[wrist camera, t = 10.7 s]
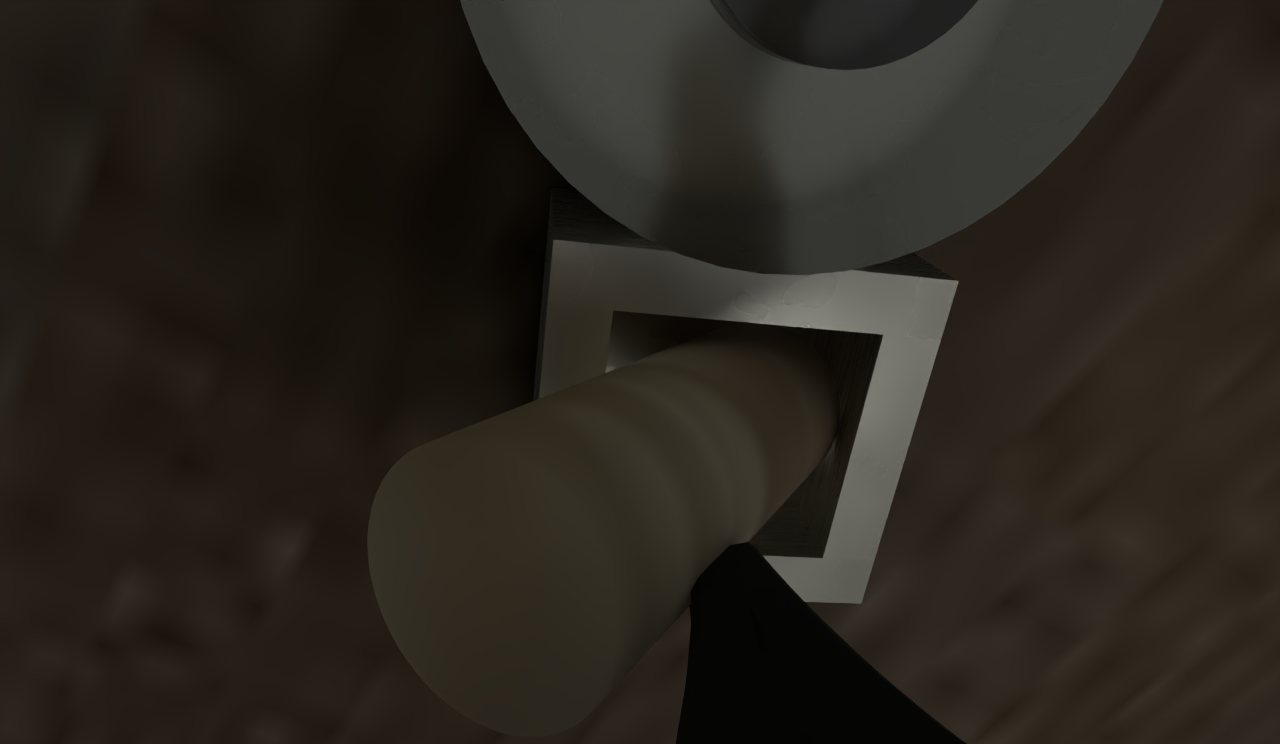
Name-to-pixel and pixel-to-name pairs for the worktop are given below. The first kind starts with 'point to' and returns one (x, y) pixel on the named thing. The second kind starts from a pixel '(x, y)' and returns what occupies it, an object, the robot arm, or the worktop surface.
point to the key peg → (590, 520)
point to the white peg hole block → (790, 193)
